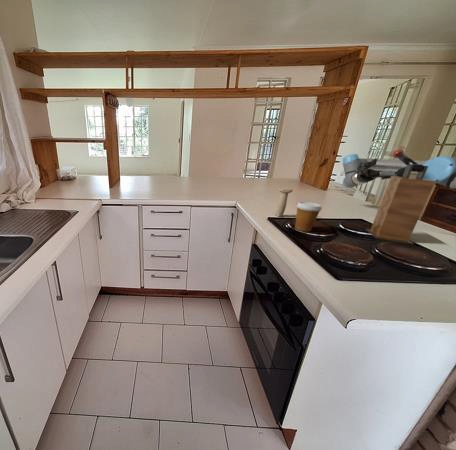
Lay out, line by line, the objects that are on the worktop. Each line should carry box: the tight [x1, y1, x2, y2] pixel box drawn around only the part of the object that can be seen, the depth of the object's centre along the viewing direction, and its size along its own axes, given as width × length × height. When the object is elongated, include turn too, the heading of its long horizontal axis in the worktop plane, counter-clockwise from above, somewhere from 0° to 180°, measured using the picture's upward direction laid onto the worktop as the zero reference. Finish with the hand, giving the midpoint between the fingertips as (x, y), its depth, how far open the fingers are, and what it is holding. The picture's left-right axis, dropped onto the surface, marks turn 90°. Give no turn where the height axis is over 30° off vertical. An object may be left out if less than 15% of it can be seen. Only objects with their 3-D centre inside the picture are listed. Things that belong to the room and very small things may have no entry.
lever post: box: [365, 165, 436, 246], centre depth 96 cm, size 12×12×31 cm
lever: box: [391, 149, 423, 172], centre depth 98 cm, size 22×4×4 cm, turn 156°
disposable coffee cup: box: [294, 201, 322, 233], centre depth 106 cm, size 10×10×12 cm
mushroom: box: [275, 187, 293, 218], centre depth 124 cm, size 5×6×15 cm
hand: (391, 165), depth 113 cm, fingers open, 13 cm apart
